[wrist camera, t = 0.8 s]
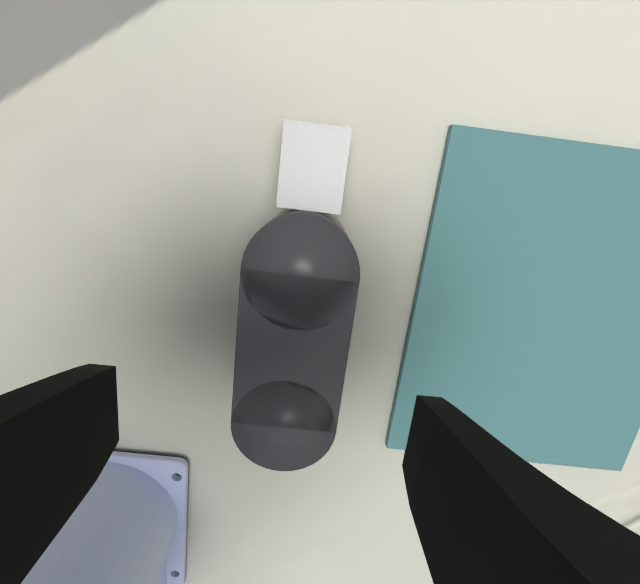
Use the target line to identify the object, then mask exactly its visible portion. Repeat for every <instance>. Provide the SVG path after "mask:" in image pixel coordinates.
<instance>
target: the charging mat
mask: <svg viewBox="0 0 640 584" xmlns="http://www.w3.org/2000/svg"><path fill="white" fill-rule="evenodd" d="M417 395H423V396H434V397H442V398H444V399H445V400H447V401H448V402H450V403H451V404H452V405H454V406H455V407H456V408H458V409H459V410H460V411H462V412H463V413H464V414H466V415H467V416H468V417H469V418H471V419H472V420H473V421H474V422H476V423H477V424H478V425H480V426H481V427H482V428H483V429H485V430H486V431H487V432H488V433H490V434H491V435H492V436H494V437H495V438H496V439H497V440H499V441H500V442H501V443H503V444H504V445H505V446H506V447H508V448H509V449H510V450H512V451H513V452H514V453H516V454H517V455H518V456H520V457H521V458H522V459H524V460H525V461H526V462H534V463H544V464H554V465H565V466H575V467H585V468H595V469H605V470H615V471H621V470H622V468H623V465H624V463H625V461H626V458H627V456H628V453H629V451H630V449H631V446H632V444H633V442H634V439H635V437H636V434H637V432H638V430H639V427H640V150H638V149H631V148H623V147H616V146H608V145H601V144H593V143H586V142H579V141H571V140H564V139H556V138H549V137H542V136H534V135H527V134H519V133H512V132H504V131H497V130H490V129H482V128H475V127H467V126H460V125H451V126H449V131H448V136H447V141H446V146H445V151H444V156H443V161H442V166H441V171H440V176H439V181H438V186H437V191H436V196H435V201H434V206H433V210H432V215H431V220H430V225H429V230H428V235H427V240H426V245H425V250H424V255H423V260H422V265H421V270H420V275H419V280H418V285H417V290H416V295H415V300H414V305H413V310H412V315H411V320H410V325H409V329H408V334H407V339H406V344H405V349H404V354H403V359H402V364H401V369H400V374H399V379H398V384H397V389H396V394H395V399H394V404H393V409H392V414H391V419H390V424H389V429H388V434H387V439H386V446H387V448H392V449H402V450H405V449H406V445H407V440H408V435H409V430H410V425H411V421H412V416H413V411H414V406H415V401H416V396H417Z"/></svg>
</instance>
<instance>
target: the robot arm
mask: <svg viewBox="0 0 640 584" xmlns="http://www.w3.org/2000/svg"><path fill="white" fill-rule="evenodd" d="M118 441H119V428H118V406H117V384H116V366H107V365H97V364H87V365H83V366H79V367H76V368H73V369H70V370H67V371H64V372H61V373H58V374H56V375H53V376H50V377H47V378H45V379H42V380H39V381H37V382H34V383H31V384H29V385H26V386H24V387H21V388H18V389H16V390H13V391H10V392H8V393H5V394H2V395H0V584H185V571H186V535H187V498H188V463H187V461H186V460H185V459H183V458H180V457H170V456H159V455H149V454H138V453H128V452H117V451H113V450H114V449H115V447H116V445H117V443H118ZM402 466H403V472H404V478H405V484H406V489H407V495H408V500H409V505H410V509H411V512H412V515H413V519H414V522H415V525H416V529H417V532H418V535H419V538H420V542H421V545H422V548H423V551H424V554H425V557H426V561H427V564H428V567H429V570H430V573H431V576H432V580H433V583H434V584H640V536H639V535H638V534H636V533H634V532H633V531H631V530H629V529H627V528H626V527H624V526H623V525H621V524H619V523H618V522H616V521H615V520H613V519H611V518H610V517H608V516H607V515H605V514H603V513H602V512H600V511H599V510H597V509H595V508H594V507H592V506H590V505H589V504H587V503H586V502H584V501H583V500H581V499H580V498H578V497H577V496H575V495H574V494H572V493H570V492H569V491H567V490H566V489H565V488H563V487H562V486H560V485H559V484H557V483H556V482H555V481H553V480H552V479H550V478H549V477H547V476H546V475H545V474H543V473H542V472H540V471H539V470H537V469H536V468H535V467H533V466H532V465H531V464H529V463H528V462H526V461H525V460H524V459H522V458H521V457H520V456H518V455H517V454H516V453H514V452H513V451H512V450H510V449H509V448H508V447H506V446H505V445H504V444H503V443H501V442H500V441H499V440H497V439H496V438H495V437H494V436H492V435H491V434H490V433H488V432H487V431H486V430H485V429H483V428H482V427H481V426H480V425H478V424H477V423H476V422H474V421H473V420H472V419H471V418H469V417H468V416H467V415H466V414H464V413H463V412H462V411H460V410H459V409H458V408H456V407H455V406H454V405H452V404H451V403H450V402H448V401H447V400H445V399H444V398H442V397H434V396H423V395H417V396H416V401H415V406H414V411H413V416H412V421H411V425H410V430H409V435H408V440H407V445H406V449H405V454H404V459H403V464H402ZM175 473H177V474H180V475H181V476H178V475H176V474H175Z"/></svg>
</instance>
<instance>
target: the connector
mask: <svg viewBox="0 0 640 584" xmlns="http://www.w3.org/2000/svg"><path fill="white" fill-rule="evenodd" d="M351 134H352V128H349V127H342V126H334V125H326V124H319V123H311V122H304V121H296V120H289V119H284V120H283V132H282V143H281V155H280V166H279V178H278V190H277V201H276V207H281V208H289V209H287V210H285V211H283V212H281V213H280V214H278V215H277V216H276V217H275V218H273V219H272V220H271V221H270V222H269V223H267V224H266V225H265V226H264V227H262V228H261V229H260V230H259V231H258V232H257V233H256V234H255V235H254V237H253V238H252V239H251V240H250V242H249V244H248V245H247V247H246V250H245V252H244V255H243V258H242V263H241V273H240V289H239V304H238V320H237V336H236V352H235V367H234V383H233V399H232V415H231V431H232V436H233V439H234V441H235V443H236V445H237V447H238V448H239V450H240V451H241V452H242V453H243V454H244V455H245V456H246V457H247V458H248V459H249V460H251V461H252V462H254V463H256V464H258V465H259V466H262V467H264V468H268V469H271V470H277V471H293V470H298V469H302V468H305V467H307V466H310V465H312V464H313V463H315V462H317V461H318V460H319V459H321V458H322V457H323V456H324V455H325V454H326V453H327V451H328V450H329V449H330V447H331V445H332V443H333V441H334V438H335V434H336V428H337V422H338V416H339V409H340V403H341V396H342V390H343V384H344V377H345V371H346V364H347V358H348V351H349V345H350V339H351V332H352V326H353V319H354V313H355V307H356V300H357V294H358V287H359V280H360V267H359V261H358V257H357V254H356V252H355V250H354V247H353V245H352V244H351V242H350V240H349V238H348V236H347V235H346V233H345V231H344V229H343V227H342V226H341V224H340V223H339V222H338V221H337V219H336V218H335V217H333V216H332V215H331V214H337V215H341V208H342V200H343V193H344V186H345V178H346V171H347V163H348V156H349V148H350V141H351Z"/></svg>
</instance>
